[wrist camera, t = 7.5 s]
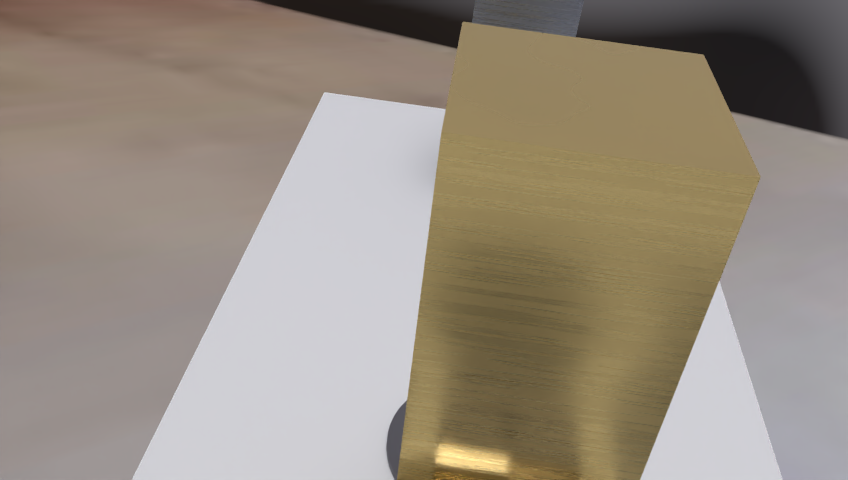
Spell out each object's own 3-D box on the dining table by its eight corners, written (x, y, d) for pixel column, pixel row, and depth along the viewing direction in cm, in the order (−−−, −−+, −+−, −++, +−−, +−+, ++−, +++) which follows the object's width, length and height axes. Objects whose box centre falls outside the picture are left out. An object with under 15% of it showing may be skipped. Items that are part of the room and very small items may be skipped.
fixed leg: (537, 209, 27) (608, -113, 21) (447, 197, 27) (493, -128, 21) (536, 165, 29) (599, -135, 23) (454, 153, 29) (496, -148, 23)
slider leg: (552, 698, 13) (760, 176, 8) (372, 669, 13) (442, 131, 8) (549, 539, 16) (703, 55, 10) (396, 515, 16) (462, 21, 10)
